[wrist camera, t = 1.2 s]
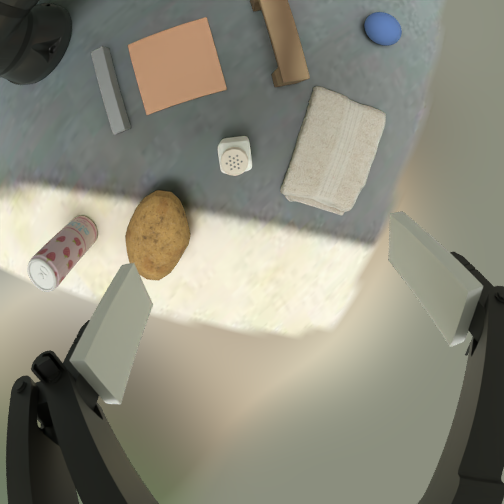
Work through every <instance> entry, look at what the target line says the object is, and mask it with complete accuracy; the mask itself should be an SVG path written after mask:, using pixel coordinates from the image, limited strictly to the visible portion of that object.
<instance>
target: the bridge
mask: <svg viewBox="0 0 504 504" xmlns="http://www.w3.org/2000/svg"><path fill="white" fill-rule="evenodd" d="M250 2H251V6H252V9H253V11H259V10H262V13H263V16H264V20H265V23H266V26H267V30H268V33H269V36H270V40H271V43H272V47H273V50H274V54H275V58H276V61H277V65H278V68H277V69H276V70H275V71H274V72H273V73H272V74H271V75H272V79H273V83H274V86H275V87H280V86H285V85H291V84H296V83H299V82H301V81H304V80H307V79H309V78H310V77H309V73H308V69H307V65H306V61H305V57H304V53H303V50H302V46H301V43H300V39H299V36H298V32H297V29H296V25H295V22H294V19H293V16H292V12H291V9H290V6H289V3H288V0H250Z"/></svg>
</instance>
